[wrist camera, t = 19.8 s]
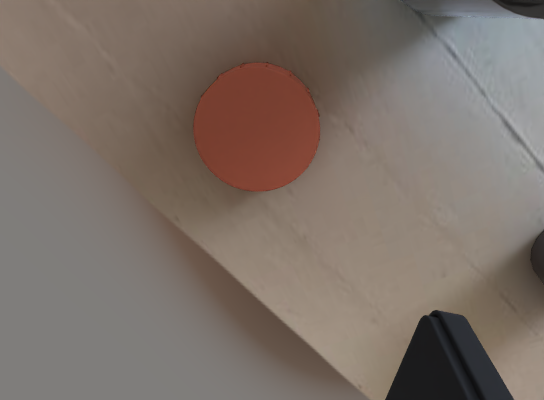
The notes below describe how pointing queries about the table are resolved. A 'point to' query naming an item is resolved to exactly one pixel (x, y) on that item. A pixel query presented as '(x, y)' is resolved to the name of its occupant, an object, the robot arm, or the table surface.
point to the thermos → (480, 8)
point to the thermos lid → (257, 127)
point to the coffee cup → (538, 257)
